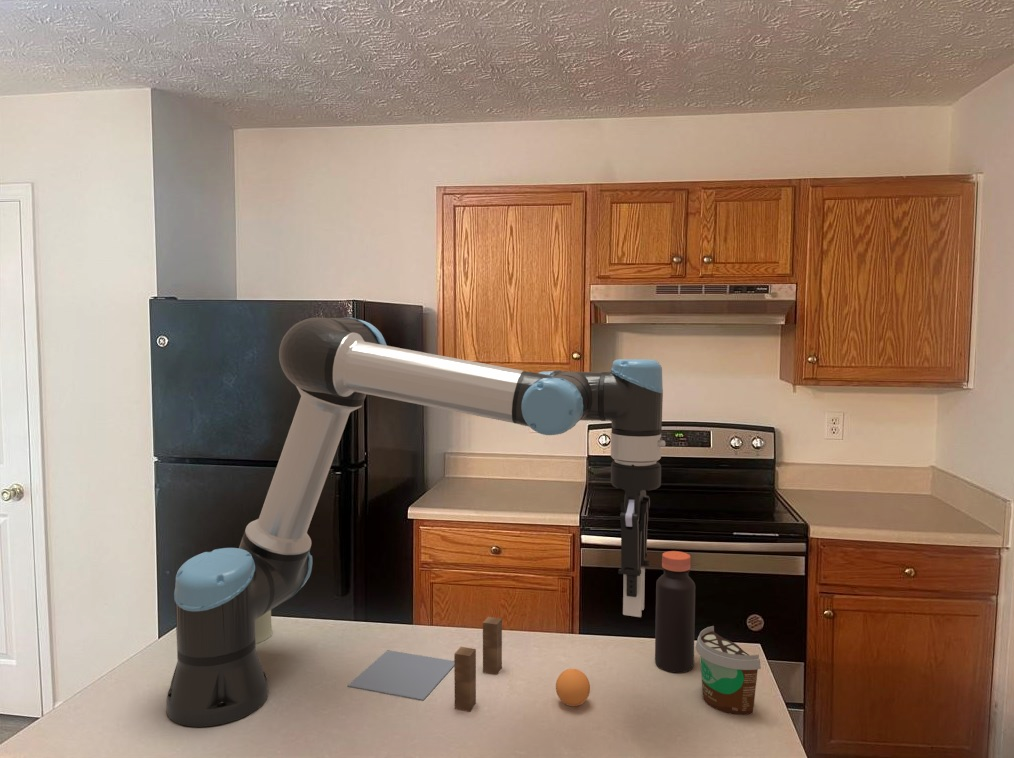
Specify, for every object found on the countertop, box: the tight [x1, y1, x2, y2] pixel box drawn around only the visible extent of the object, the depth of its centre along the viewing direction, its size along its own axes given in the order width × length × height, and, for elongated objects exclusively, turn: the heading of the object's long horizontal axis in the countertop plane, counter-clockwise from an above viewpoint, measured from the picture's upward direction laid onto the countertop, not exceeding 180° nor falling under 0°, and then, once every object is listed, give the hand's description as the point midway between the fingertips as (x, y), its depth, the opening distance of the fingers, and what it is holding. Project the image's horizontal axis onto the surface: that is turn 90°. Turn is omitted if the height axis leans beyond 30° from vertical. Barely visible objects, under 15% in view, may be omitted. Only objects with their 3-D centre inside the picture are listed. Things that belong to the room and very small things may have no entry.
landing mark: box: [347, 649, 454, 702], centre depth 125 cm, size 14×14×1 cm
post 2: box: [482, 616, 503, 676], centre depth 126 cm, size 3×3×9 cm
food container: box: [695, 625, 762, 716], centre depth 115 cm, size 12×6×10 cm, turn 21°
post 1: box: [453, 646, 477, 713], centre depth 114 cm, size 3×3×9 cm
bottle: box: [654, 550, 696, 674], centre depth 128 cm, size 7×7×20 cm
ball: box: [555, 668, 591, 707], centre depth 115 cm, size 6×6×6 cm
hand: (633, 611), depth 111 cm, fingers open, 2 cm apart
